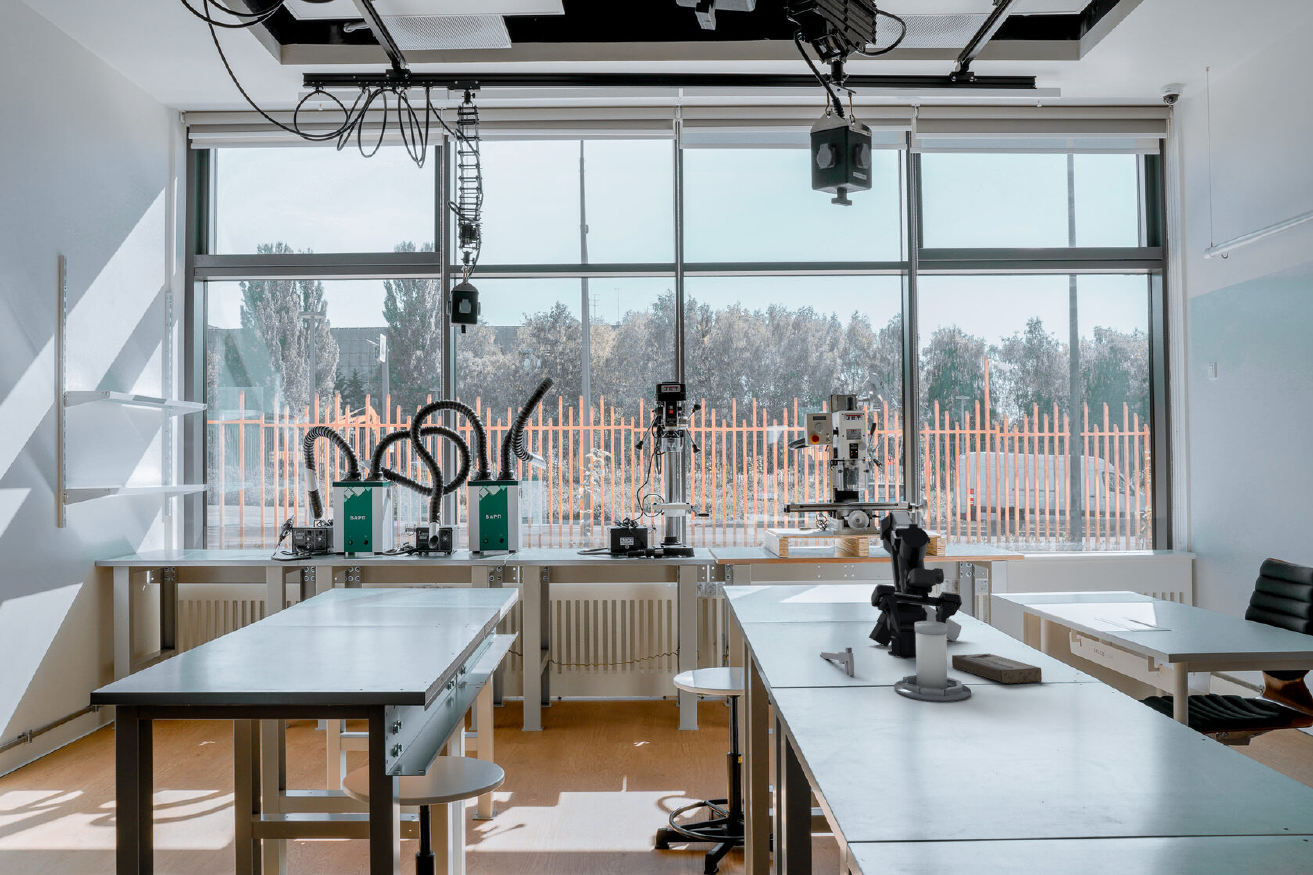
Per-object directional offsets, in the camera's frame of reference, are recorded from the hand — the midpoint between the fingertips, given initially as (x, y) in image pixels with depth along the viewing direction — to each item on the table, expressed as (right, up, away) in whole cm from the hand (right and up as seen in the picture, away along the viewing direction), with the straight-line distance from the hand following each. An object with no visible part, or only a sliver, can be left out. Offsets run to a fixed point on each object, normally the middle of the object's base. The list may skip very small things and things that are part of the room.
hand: (919, 634), depth 180 cm
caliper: (-15, -11, +14) cm, 23 cm away
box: (+18, -11, +4) cm, 22 cm away
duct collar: (-1, -10, -9) cm, 13 cm away
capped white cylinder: (-1, -9, -9) cm, 13 cm away
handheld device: (+11, -12, +37) cm, 40 cm away
